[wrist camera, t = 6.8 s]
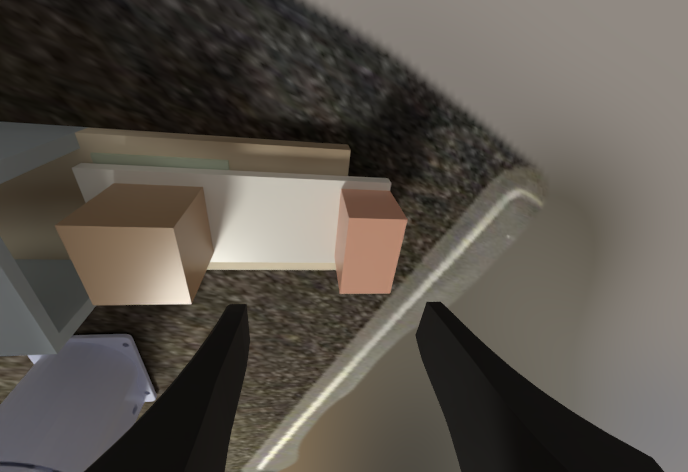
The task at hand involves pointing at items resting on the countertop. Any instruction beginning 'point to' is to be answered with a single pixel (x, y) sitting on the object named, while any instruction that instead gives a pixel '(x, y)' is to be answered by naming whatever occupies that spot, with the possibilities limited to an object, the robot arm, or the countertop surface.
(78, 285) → the tunnel
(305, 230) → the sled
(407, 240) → the countertop surface
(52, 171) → the board
